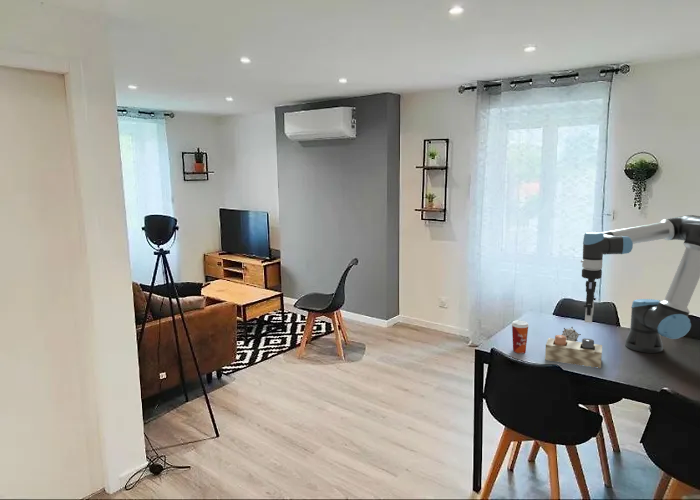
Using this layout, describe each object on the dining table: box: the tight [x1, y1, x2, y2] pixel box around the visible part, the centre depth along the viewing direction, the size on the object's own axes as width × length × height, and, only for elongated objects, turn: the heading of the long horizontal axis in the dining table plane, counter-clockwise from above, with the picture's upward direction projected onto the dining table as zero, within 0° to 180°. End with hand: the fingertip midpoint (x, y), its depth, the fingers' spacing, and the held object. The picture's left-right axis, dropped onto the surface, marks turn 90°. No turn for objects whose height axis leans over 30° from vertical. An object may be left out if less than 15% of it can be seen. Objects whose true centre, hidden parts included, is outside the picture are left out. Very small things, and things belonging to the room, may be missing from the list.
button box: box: [544, 337, 603, 369], centre depth 207 cm, size 22×10×7 cm, turn 61°
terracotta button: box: [554, 334, 566, 346], centre depth 209 cm, size 5×5×6 cm
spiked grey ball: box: [561, 326, 581, 342], centre depth 227 cm, size 9×8×10 cm
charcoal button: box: [581, 338, 595, 350], centre depth 204 cm, size 5×5×6 cm
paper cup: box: [510, 319, 530, 354], centre depth 219 cm, size 8×8×14 cm
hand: (589, 318), depth 202 cm, fingers open, 11 cm apart
